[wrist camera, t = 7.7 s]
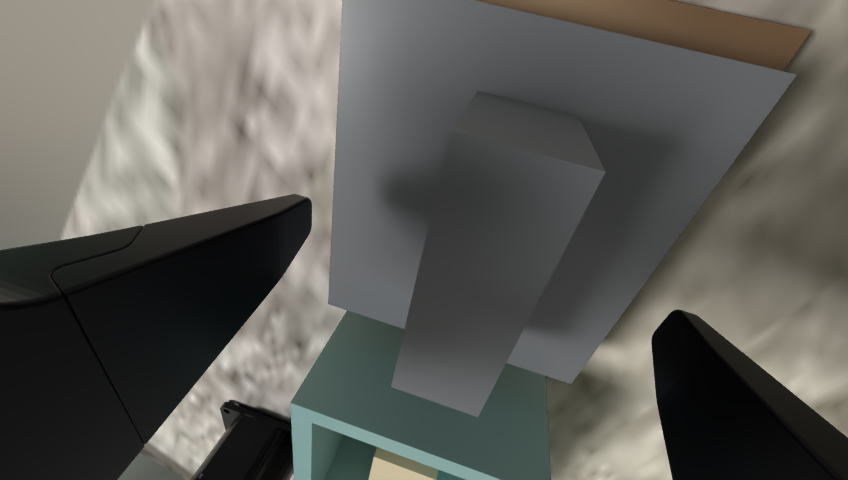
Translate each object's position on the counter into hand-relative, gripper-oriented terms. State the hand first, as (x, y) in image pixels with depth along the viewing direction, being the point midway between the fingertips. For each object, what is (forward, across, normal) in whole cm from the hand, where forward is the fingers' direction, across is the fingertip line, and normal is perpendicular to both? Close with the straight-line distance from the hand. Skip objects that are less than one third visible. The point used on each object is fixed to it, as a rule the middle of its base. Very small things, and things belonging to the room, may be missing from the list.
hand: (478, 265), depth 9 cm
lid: (+4, 0, 0) cm, 4 cm away
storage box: (+4, 0, +12) cm, 13 cm away
